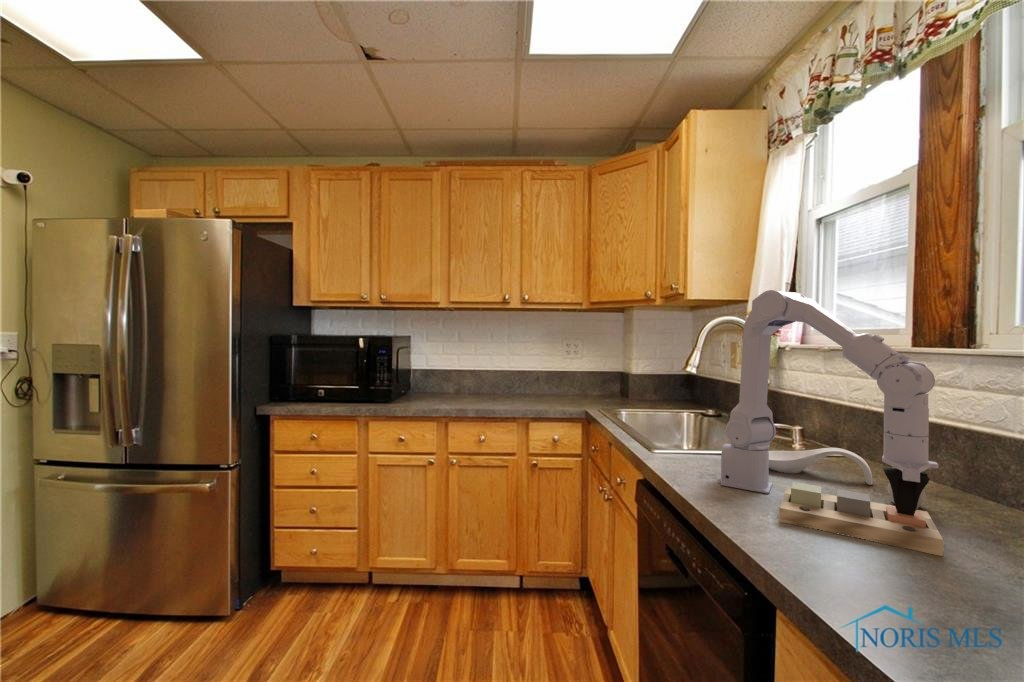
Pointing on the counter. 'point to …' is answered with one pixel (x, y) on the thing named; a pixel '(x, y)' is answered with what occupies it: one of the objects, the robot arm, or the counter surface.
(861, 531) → the tan wooden slotted tray
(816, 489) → the key sage
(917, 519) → the key terracotta
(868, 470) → the light grey curved piece
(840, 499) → the key slate
